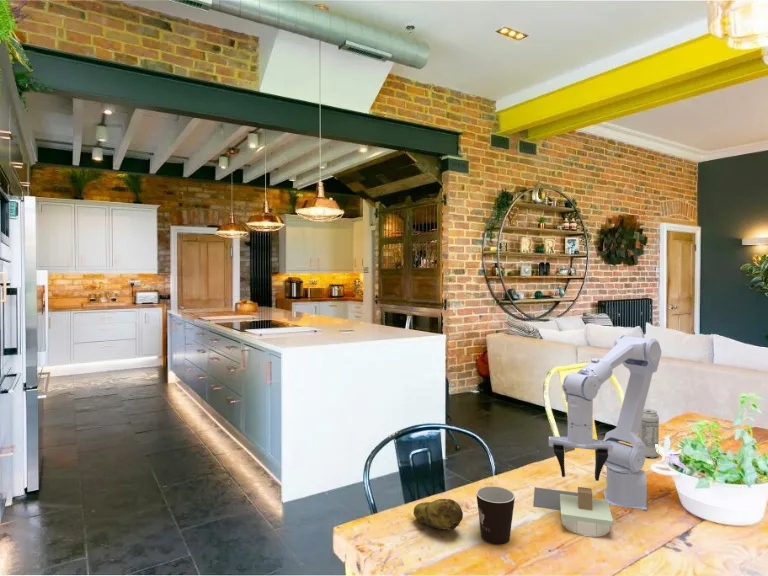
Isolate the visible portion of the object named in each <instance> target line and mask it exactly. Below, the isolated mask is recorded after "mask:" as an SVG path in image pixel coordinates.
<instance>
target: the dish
mask: <svg viewBox="0 0 768 576" xmlns="http://www.w3.org/2000/svg"><path fill="white" fill-rule="evenodd" d="M561 524H562V526H563V527H564V528H565V529H567V531H570V532H572V533H574V534H576V535H579V536H583V537H584V536H585V537H591V538H598V537H602V536H603V537H604V536H606V535H608V533H609V532H611V531H610V530H611V526H605V525H598V524H592V523H585V522H578V521H571V520H564V519H561Z"/></svg>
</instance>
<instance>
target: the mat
mask: <svg viewBox="0 0 768 576" xmlns="http://www.w3.org/2000/svg"><path fill="white" fill-rule="evenodd" d="M533 490H534V492H533V504H532V505H533V506H532V507H534V508H540V509H549V510H555V511H561V508H560V494H565V495H573V496H578V492H574V491H568V490H566V491H565V490H559V489H551V488H545V487H544V488H542V487H536V486H535V487H534V488H533Z"/></svg>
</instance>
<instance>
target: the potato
mask: <svg viewBox="0 0 768 576" xmlns="http://www.w3.org/2000/svg"><path fill="white" fill-rule="evenodd" d="M461 507H462V506H461V505H460V504H459V503H458V502H456V501H455V500H453V499H451V498H438V499H436V500H432V501H431V502H429V501H427V502H426V501H425V502H420V503H418V504H416V505H415V506H414V508H413V516H414V518H415V519H416V520H417V521H418V522H419V523H421V524H426V525H427V526H430V527H432V528H433V529H440V530H442V529H443V530H444V529H447V530H449V531H453V530H455V529H457V527H458V526H460V524H461V522H462V521H463V518H464V514H463V509H462V508H461Z"/></svg>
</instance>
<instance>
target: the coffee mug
mask: <svg viewBox="0 0 768 576" xmlns="http://www.w3.org/2000/svg"><path fill="white" fill-rule="evenodd" d="M475 494H476V501H477V502H476V503H477V509H478V512H477V513H478V518H479V521H478V522H479V529H480V536H481V539H482V541H484V542H486V543H488V544H491V545H497V546H500V545H501V546H502V545H506V544H507V543H509V542H510V540H511V532H512V531H511V530H512V523H513V515H514V507H515V500H516V495H515V493H514V492H513V491H511V489H508V488H505V487H502V486H497V485H496V486H495V485H490V486H489V485H488V486H483V487H480V488H478V489H477V490H476V492H475Z"/></svg>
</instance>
